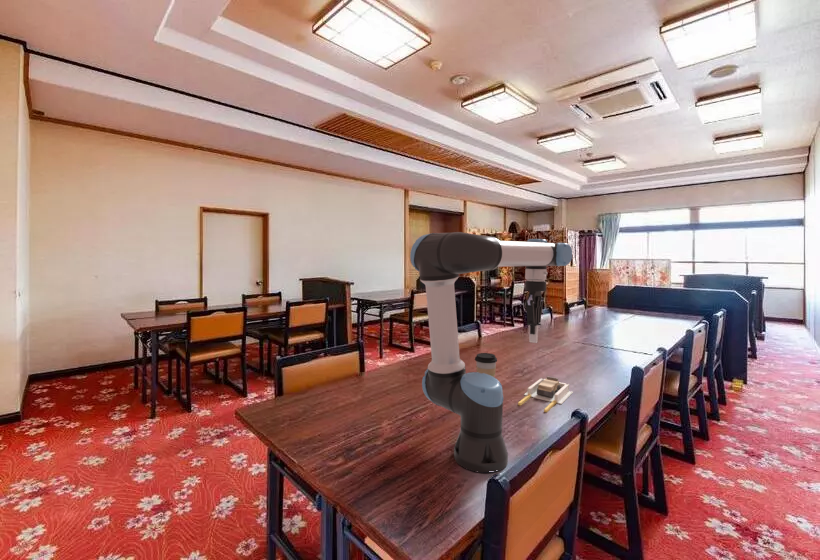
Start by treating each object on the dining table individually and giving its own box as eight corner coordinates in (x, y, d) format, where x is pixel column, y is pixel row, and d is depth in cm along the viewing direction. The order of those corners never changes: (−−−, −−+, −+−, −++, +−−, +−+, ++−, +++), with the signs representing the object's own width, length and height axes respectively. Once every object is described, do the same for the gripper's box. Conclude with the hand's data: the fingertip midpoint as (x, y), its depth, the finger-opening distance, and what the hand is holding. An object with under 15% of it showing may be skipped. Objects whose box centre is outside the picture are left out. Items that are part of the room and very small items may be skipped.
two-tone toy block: (551, 399, 150) (551, 385, 150) (536, 395, 154) (537, 382, 153) (560, 391, 159) (560, 378, 158) (545, 387, 162) (546, 375, 162)
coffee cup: (496, 394, 156) (497, 359, 155) (473, 392, 158) (474, 357, 157) (496, 386, 165) (497, 353, 164) (474, 384, 167) (475, 351, 166)
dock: (552, 414, 137) (552, 404, 137) (513, 403, 146) (513, 395, 146) (572, 392, 158) (573, 384, 158) (537, 384, 167) (537, 377, 167)
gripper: (539, 281, 134) (536, 346, 135) (551, 280, 144) (549, 341, 145) (519, 280, 138) (516, 343, 140) (532, 279, 149) (530, 338, 150)
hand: (533, 342), depth 143 cm, fingers closed
